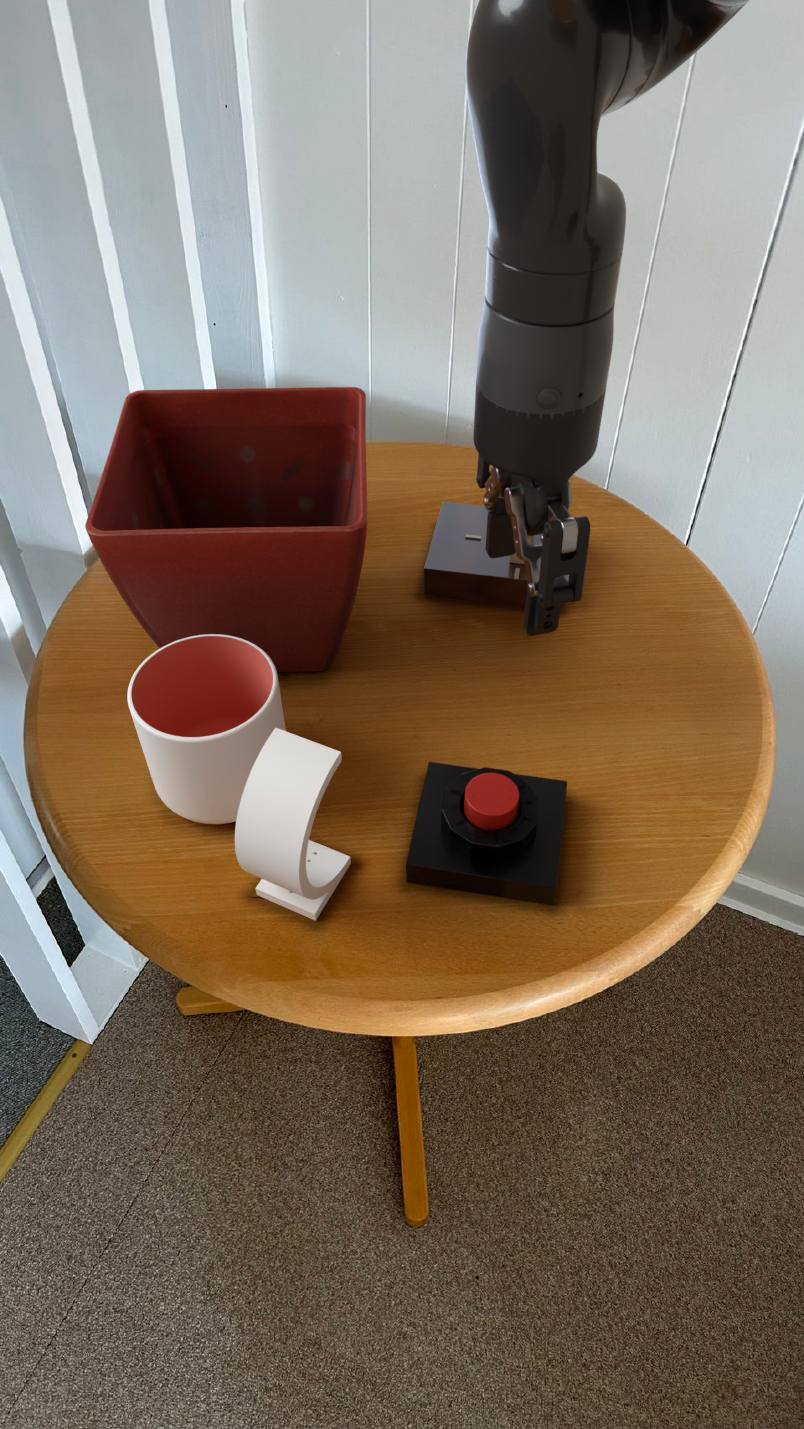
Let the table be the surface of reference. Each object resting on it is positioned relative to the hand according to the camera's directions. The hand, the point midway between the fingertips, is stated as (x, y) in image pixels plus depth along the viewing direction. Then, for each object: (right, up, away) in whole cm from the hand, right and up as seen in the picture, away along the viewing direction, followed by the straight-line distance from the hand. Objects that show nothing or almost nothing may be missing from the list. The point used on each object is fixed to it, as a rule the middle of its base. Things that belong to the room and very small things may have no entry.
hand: (519, 590), depth 68 cm
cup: (-21, -14, +4) cm, 26 cm away
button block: (-2, -18, 0) cm, 18 cm away
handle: (+2, +7, +18) cm, 19 cm away
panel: (0, +5, +21) cm, 21 cm away
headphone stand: (-15, -20, -2) cm, 25 cm away
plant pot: (-20, -1, +16) cm, 26 cm away
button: (-2, -15, -2) cm, 15 cm away
